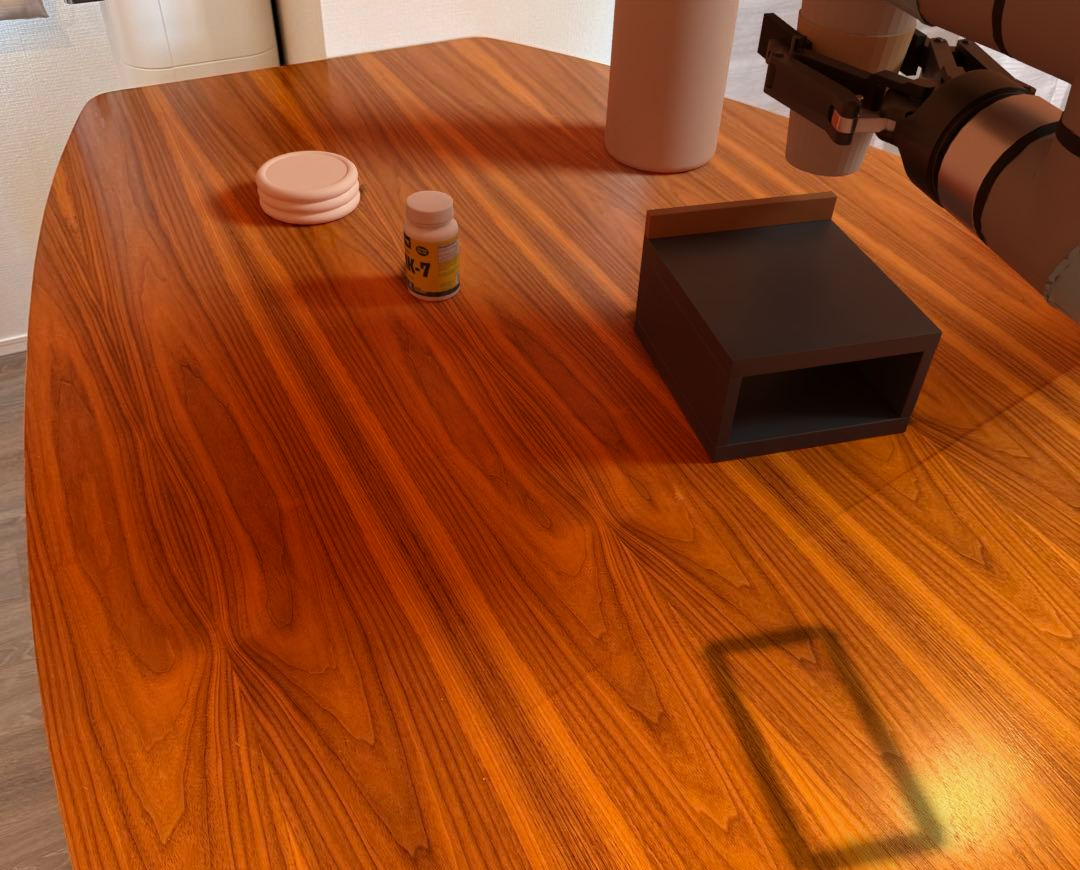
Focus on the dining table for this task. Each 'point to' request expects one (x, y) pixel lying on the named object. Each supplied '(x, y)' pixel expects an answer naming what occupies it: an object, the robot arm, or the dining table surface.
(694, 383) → the dark brown hollow box
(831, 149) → the coffee cup
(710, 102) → the cylinder vase
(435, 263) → the supplement bottle
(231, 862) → the dining table surface
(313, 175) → the coaster
